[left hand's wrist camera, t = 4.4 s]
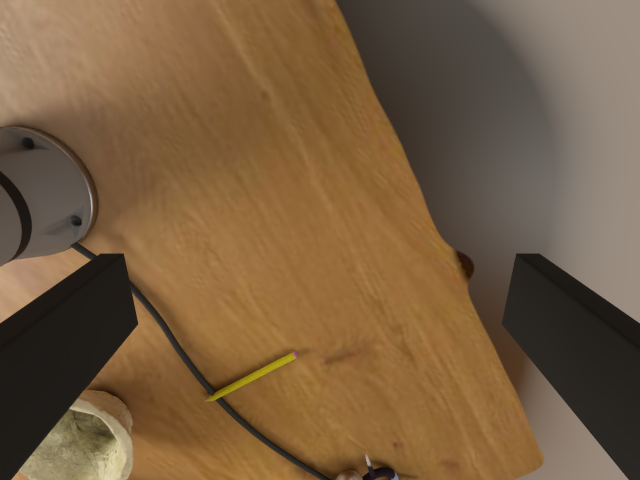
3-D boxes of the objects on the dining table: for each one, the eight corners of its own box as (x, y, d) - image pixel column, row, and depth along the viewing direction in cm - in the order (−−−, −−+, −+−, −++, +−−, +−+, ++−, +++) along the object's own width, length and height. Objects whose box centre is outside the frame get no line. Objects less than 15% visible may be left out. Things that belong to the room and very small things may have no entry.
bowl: (142, 422, 63) (48, 490, 56) (87, 343, 55) (-29, 410, 48) (168, 475, 52) (56, 568, 45) (104, 387, 45) (-42, 481, 38)
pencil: (294, 349, 52) (293, 354, 51) (298, 354, 53) (297, 359, 52) (203, 397, 55) (201, 402, 54) (207, 401, 56) (205, 406, 55)
